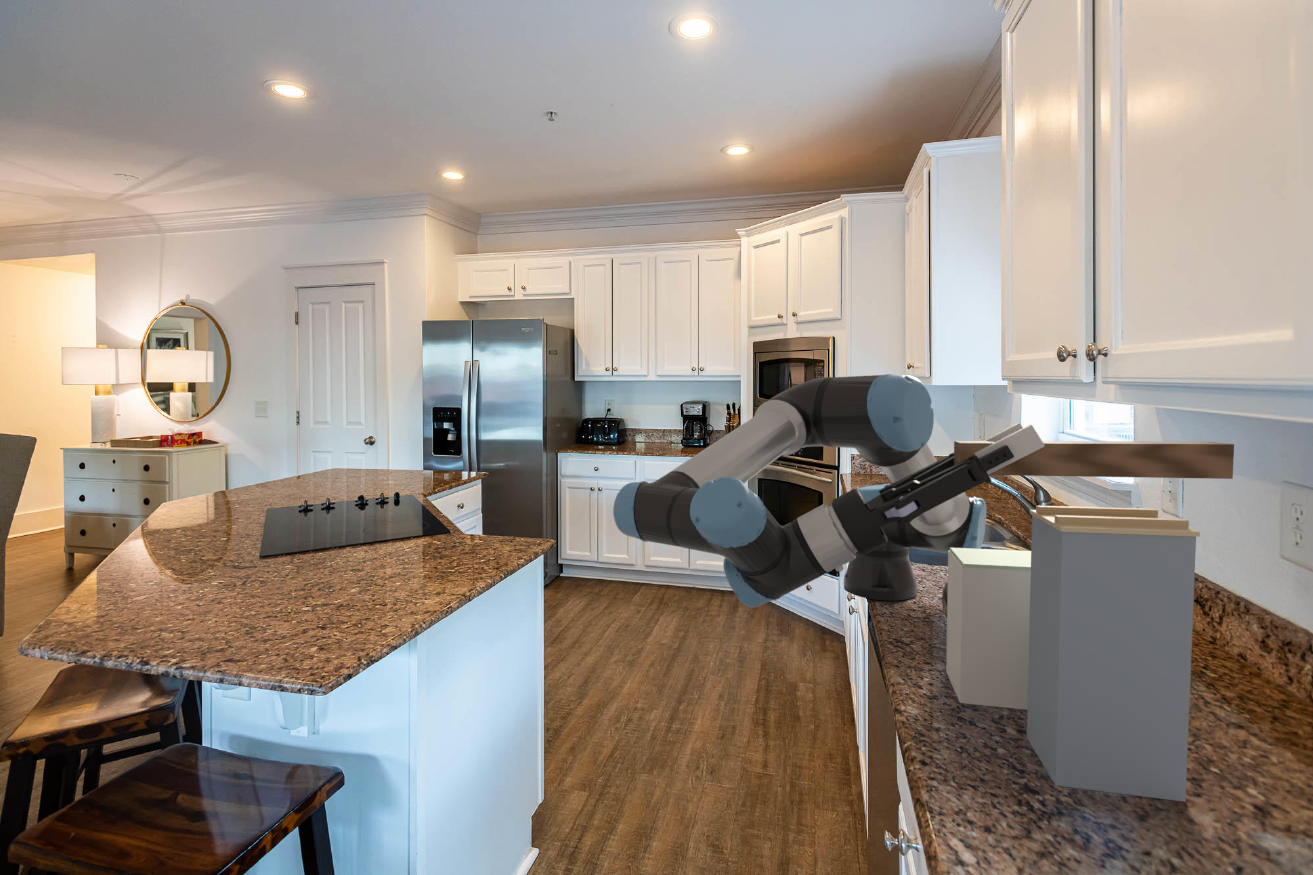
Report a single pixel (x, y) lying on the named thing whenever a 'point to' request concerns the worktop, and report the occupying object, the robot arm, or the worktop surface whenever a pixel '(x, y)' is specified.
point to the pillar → (1111, 648)
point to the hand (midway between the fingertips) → (1030, 434)
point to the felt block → (989, 626)
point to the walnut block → (1116, 459)
